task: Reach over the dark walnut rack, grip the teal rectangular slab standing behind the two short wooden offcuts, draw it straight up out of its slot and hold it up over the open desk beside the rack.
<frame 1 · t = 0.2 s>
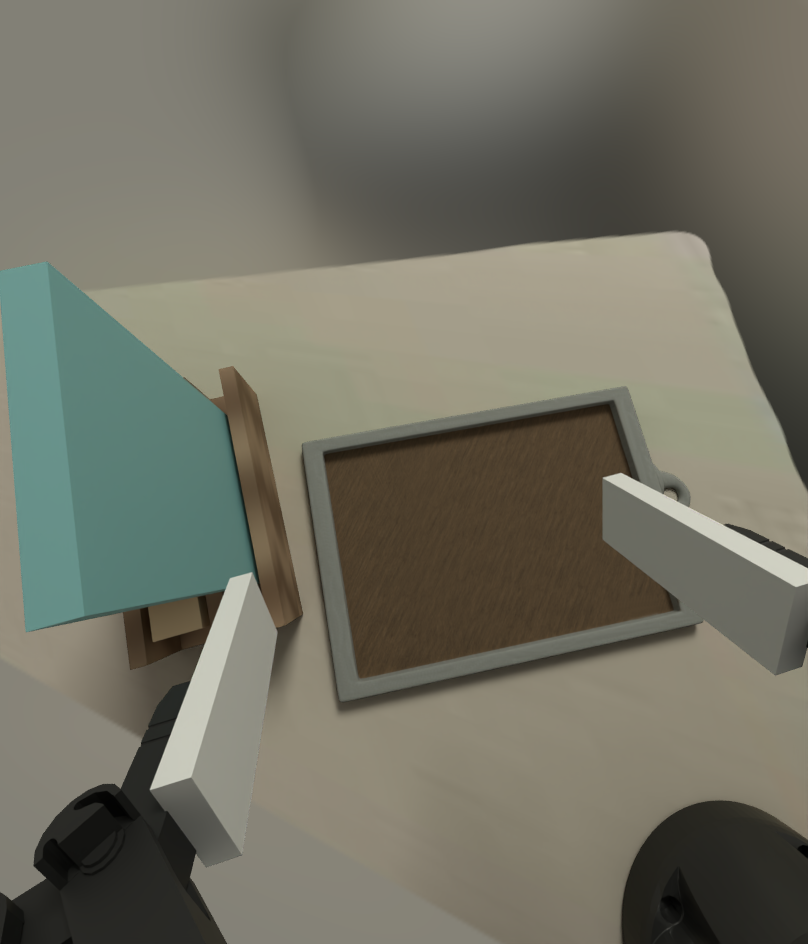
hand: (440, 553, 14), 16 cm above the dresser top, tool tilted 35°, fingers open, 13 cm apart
framed cork board: (506, 528, 32), on the dresser top
offcut oak: (199, 575, 29), point 1 cm above the dresser top, touching rack
rack: (214, 514, 31), on the dresser top
teal rectangular slab: (246, 503, 30), point 1 cm above the dresser top, touching rack
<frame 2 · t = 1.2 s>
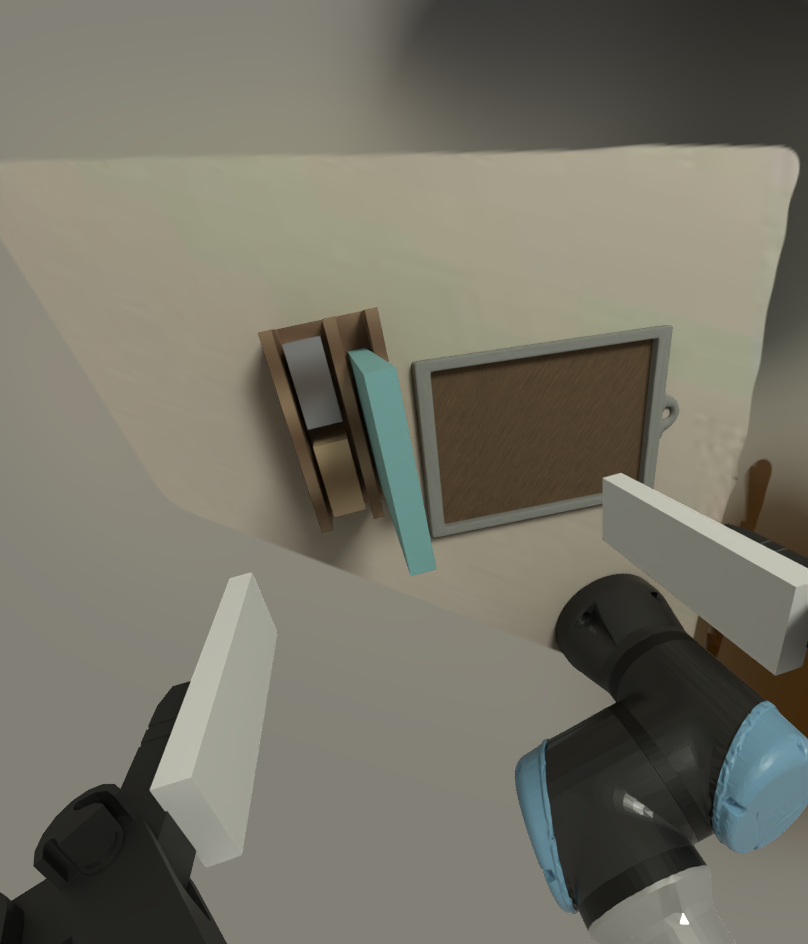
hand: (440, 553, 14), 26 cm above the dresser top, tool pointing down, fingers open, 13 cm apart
offcut charcoal: (315, 378, 36), point 1 cm above the dresser top, touching rack
framed cork board: (550, 430, 44), on the dresser top
offcut oak: (339, 464, 39), point 1 cm above the dresser top, touching rack
rack: (342, 417, 39), on the dresser top
teal rectangular slab: (370, 413, 38), point 1 cm above the dresser top, touching rack
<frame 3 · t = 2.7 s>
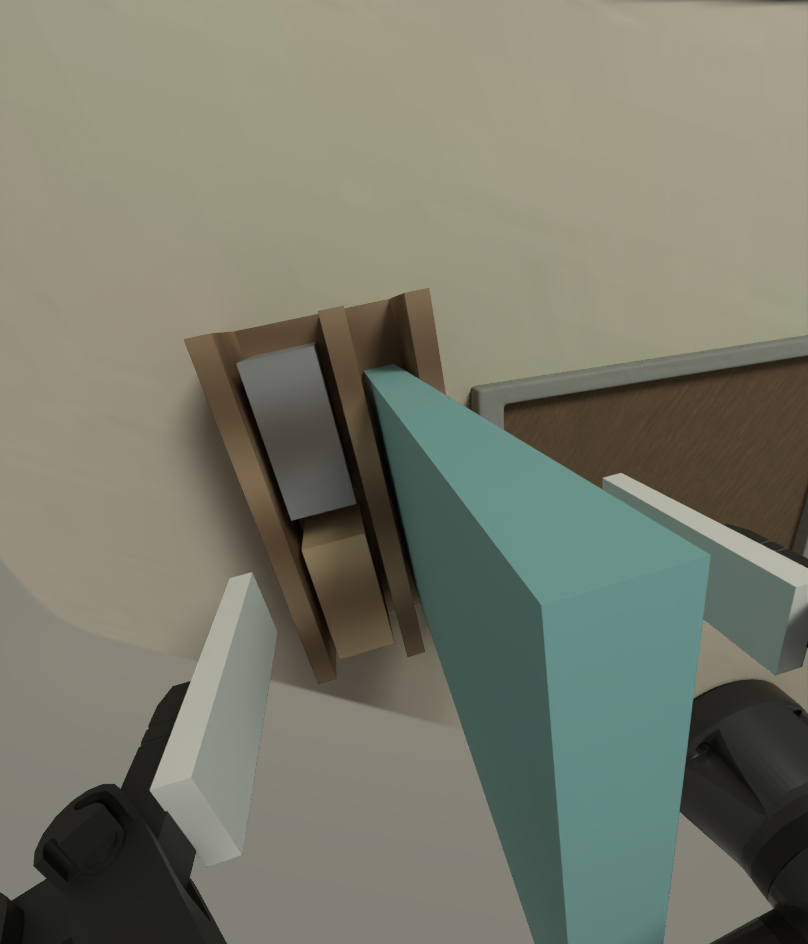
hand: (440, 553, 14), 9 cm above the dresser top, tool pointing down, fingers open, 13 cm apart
offcut charcoal: (306, 418, 20), point 1 cm above the dresser top, touching rack
framed cork board: (673, 488, 28), on the dresser top
offcut oak: (347, 556, 23), point 1 cm above the dresser top, touching rack
rack: (352, 480, 23), on the dresser top
teal rectangular slab: (401, 474, 22), point 1 cm above the dresser top, touching rack
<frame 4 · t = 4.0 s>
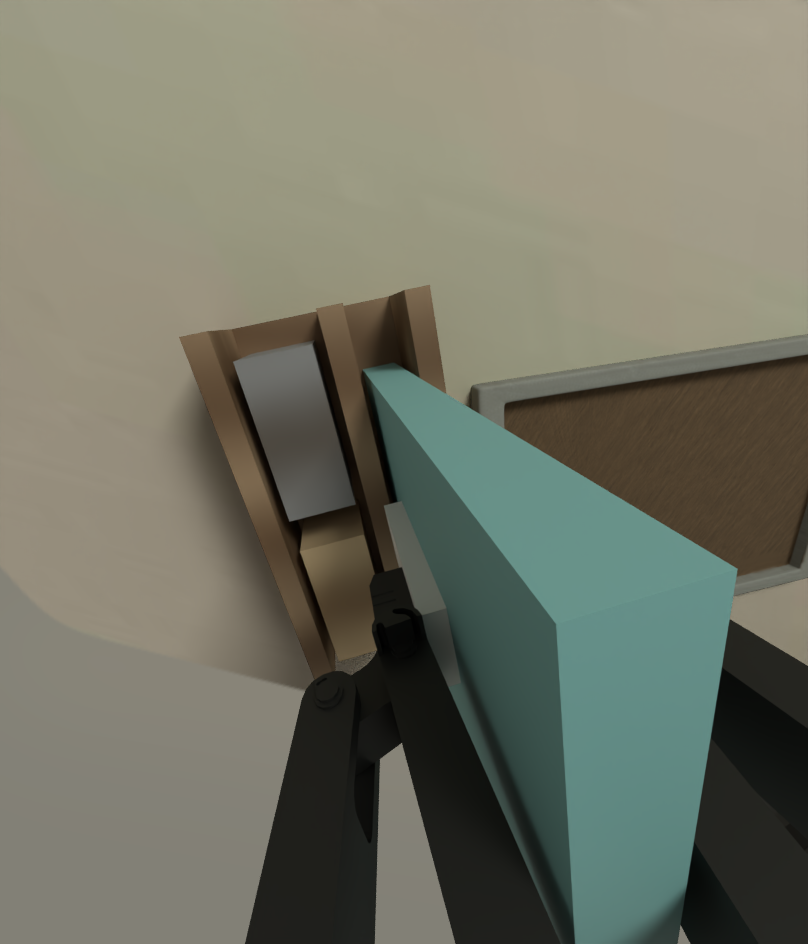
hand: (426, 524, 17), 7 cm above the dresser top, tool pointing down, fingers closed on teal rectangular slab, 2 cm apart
offcut charcoal: (304, 417, 20), point 1 cm above the dresser top, touching rack
framed cork board: (674, 487, 28), on the dresser top
offcut oak: (346, 557, 23), point 1 cm above the dresser top, touching rack
rack: (351, 480, 23), on the dresser top
teal rectangular slab: (401, 474, 22), point 1 cm above the dresser top, touching gripper, rack
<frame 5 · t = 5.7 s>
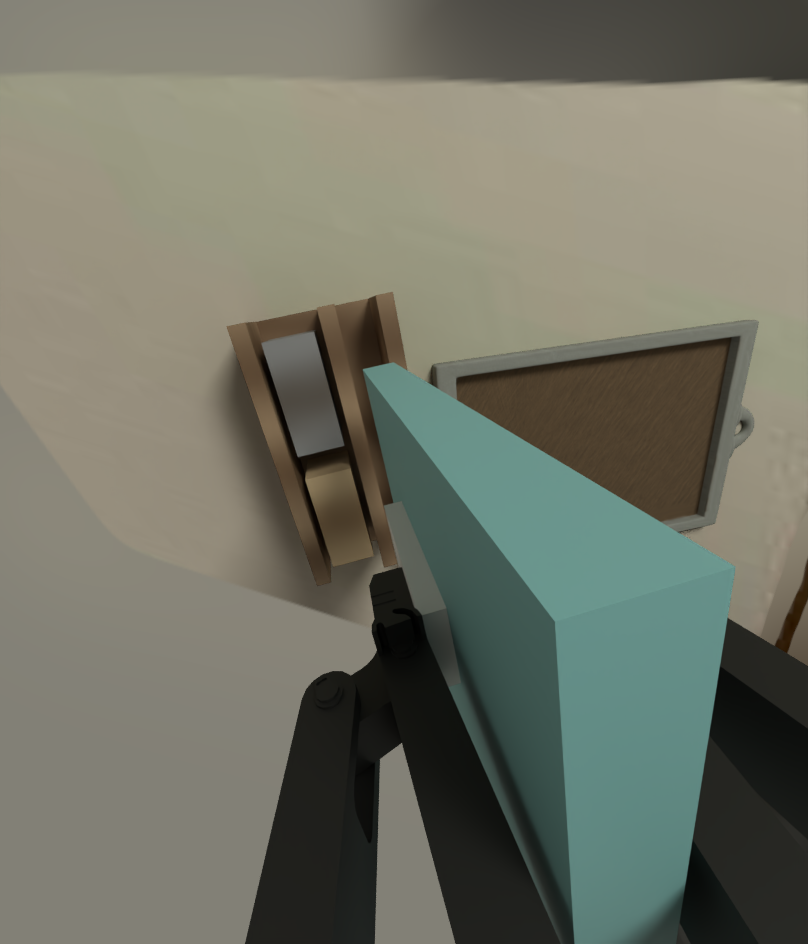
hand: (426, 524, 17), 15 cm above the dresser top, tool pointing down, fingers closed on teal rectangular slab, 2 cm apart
offcut charcoal: (308, 387, 27), point 1 cm above the dresser top, touching rack
framed cork board: (598, 448, 36), on the dresser top
offcut oak: (339, 495, 31), point 1 cm above the dresser top, touching rack
rack: (342, 436, 30), on the dresser top
teal rectangular slab: (401, 474, 22), point 9 cm above the dresser top, touching gripper
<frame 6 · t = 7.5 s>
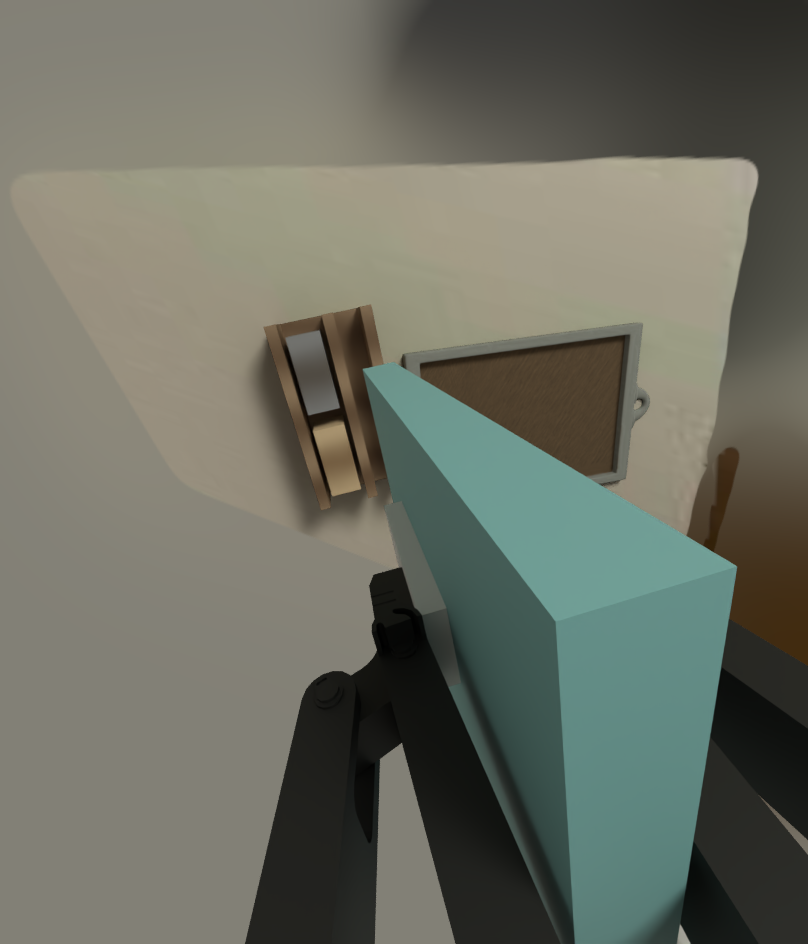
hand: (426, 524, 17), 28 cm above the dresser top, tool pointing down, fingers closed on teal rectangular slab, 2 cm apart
offcut charcoal: (314, 369, 39), point 1 cm above the dresser top, touching rack
framed cork board: (531, 419, 48), on the dresser top
offcut oak: (337, 449, 43), point 1 cm above the dresser top, touching rack
rack: (339, 406, 42), on the dresser top
teal rectangular slab: (401, 473, 22), point 22 cm above the dresser top, touching gripper
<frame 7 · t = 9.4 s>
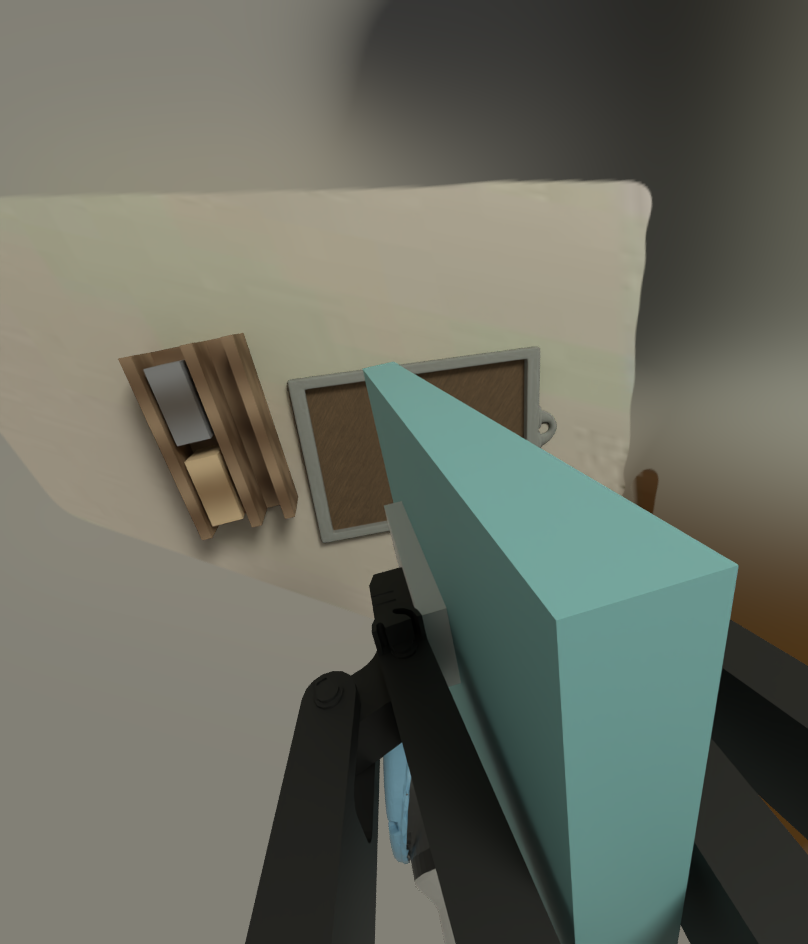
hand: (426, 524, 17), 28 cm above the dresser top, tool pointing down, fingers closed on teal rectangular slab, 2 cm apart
offcut charcoal: (192, 397, 38), point 1 cm above the dresser top, touching rack
framed cork board: (434, 443, 47), on the dresser top
offcut oak: (224, 476, 42), point 1 cm above the dresser top, touching rack
rack: (225, 432, 41), on the dresser top
teal rectangular slab: (401, 473, 22), point 22 cm above the dresser top, touching gripper
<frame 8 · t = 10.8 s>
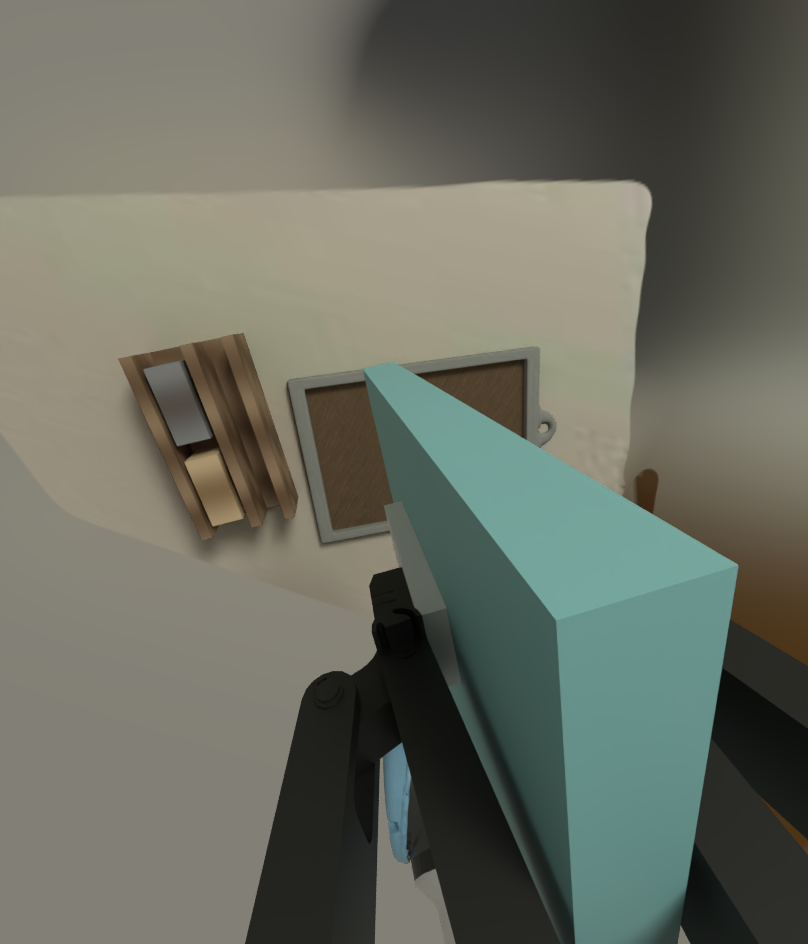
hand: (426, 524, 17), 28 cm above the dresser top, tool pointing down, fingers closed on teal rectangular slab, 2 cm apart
offcut charcoal: (192, 397, 38), point 1 cm above the dresser top, touching rack
framed cork board: (434, 443, 47), on the dresser top
offcut oak: (224, 476, 42), point 1 cm above the dresser top, touching rack
rack: (225, 432, 41), on the dresser top
teal rectangular slab: (401, 473, 22), point 22 cm above the dresser top, touching gripper
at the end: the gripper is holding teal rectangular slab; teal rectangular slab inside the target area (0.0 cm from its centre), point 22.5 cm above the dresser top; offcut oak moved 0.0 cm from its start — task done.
